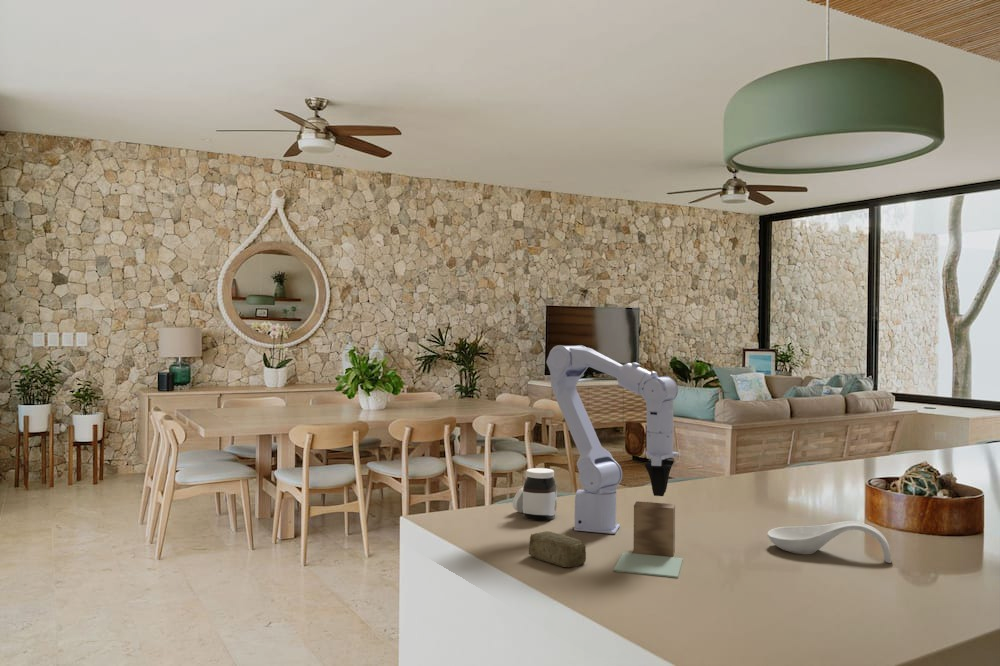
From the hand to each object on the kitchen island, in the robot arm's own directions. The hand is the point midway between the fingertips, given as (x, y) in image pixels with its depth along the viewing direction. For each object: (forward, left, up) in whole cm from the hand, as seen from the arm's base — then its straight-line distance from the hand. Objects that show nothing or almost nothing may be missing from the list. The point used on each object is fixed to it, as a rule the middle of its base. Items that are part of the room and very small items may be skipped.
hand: (659, 493), depth 162 cm
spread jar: (-32, +13, -11) cm, 36 cm away
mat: (0, -18, -10) cm, 21 cm away
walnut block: (0, -9, -11) cm, 14 cm away
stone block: (-18, -21, -11) cm, 30 cm away
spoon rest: (+34, +3, -11) cm, 36 cm away
